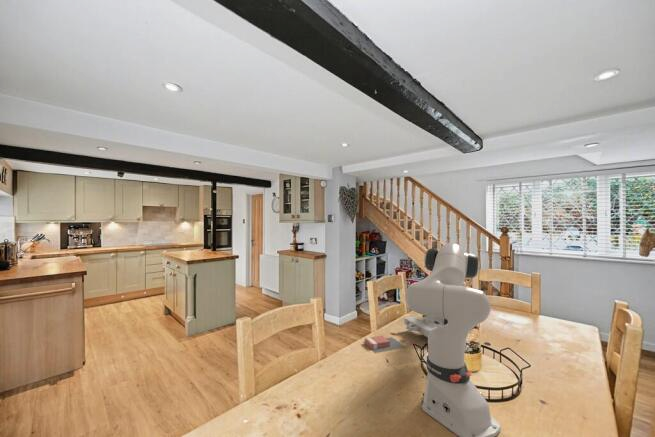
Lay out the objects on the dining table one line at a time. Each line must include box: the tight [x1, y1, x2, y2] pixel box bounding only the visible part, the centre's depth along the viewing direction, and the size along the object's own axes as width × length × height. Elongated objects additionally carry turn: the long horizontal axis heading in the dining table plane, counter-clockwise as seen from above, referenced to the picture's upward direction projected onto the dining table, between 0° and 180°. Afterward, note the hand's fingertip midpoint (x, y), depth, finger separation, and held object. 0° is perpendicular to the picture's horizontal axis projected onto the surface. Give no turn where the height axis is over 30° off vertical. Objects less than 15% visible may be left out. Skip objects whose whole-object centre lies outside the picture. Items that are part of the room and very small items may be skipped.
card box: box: [364, 335, 390, 350], centre depth 129 cm, size 7×2×10 cm
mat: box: [363, 336, 406, 354], centre depth 129 cm, size 12×17×1 cm
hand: (407, 328), depth 136 cm, fingers closed
